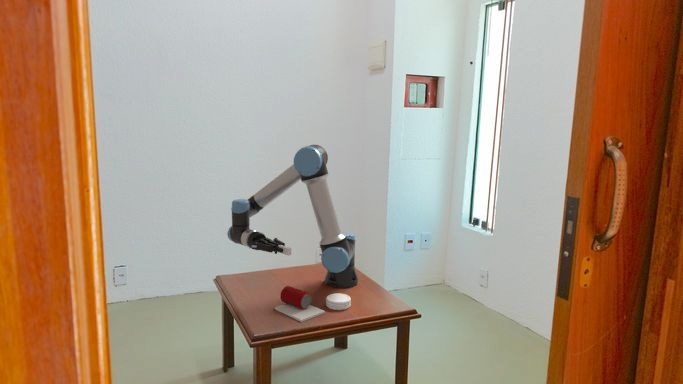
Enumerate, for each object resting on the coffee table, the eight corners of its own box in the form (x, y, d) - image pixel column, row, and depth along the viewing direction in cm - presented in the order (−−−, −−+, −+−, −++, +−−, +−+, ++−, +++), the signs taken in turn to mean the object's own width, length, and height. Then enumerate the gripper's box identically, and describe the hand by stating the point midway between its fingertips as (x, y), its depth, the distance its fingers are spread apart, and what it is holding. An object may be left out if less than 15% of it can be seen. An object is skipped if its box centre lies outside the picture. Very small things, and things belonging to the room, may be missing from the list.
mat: (274, 309, 191) (274, 307, 191) (298, 301, 200) (298, 299, 200) (301, 322, 180) (301, 320, 180) (324, 313, 189) (324, 311, 188)
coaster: (355, 308, 195) (355, 299, 194) (332, 312, 190) (333, 303, 189) (343, 299, 203) (343, 291, 203) (321, 303, 199) (322, 295, 198)
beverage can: (281, 305, 196) (303, 313, 188) (277, 292, 193) (298, 300, 185) (292, 294, 200) (314, 302, 193) (288, 282, 197) (309, 289, 190)
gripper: (266, 245, 211) (302, 257, 195) (241, 251, 202) (276, 264, 186) (266, 228, 210) (302, 239, 194) (241, 233, 201) (276, 245, 185)
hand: (289, 251), depth 190 cm, fingers closed
